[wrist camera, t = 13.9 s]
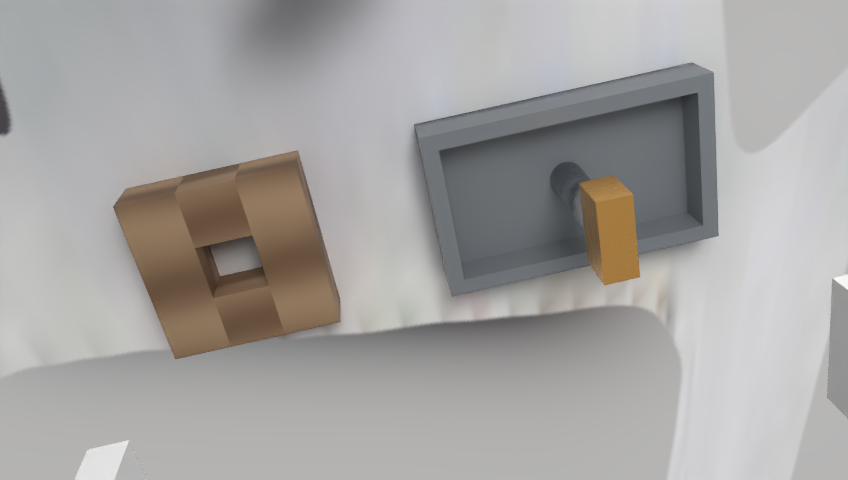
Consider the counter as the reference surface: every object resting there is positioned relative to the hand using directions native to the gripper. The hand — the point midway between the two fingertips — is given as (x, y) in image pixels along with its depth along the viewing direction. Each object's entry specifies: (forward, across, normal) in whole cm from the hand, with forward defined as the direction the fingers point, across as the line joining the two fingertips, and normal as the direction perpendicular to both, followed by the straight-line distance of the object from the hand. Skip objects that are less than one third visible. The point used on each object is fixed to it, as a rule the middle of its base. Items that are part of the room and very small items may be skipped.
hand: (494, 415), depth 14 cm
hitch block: (+35, -12, -10) cm, 38 cm away
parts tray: (+35, +10, -10) cm, 37 cm away
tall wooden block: (+34, +10, -10) cm, 37 cm away
